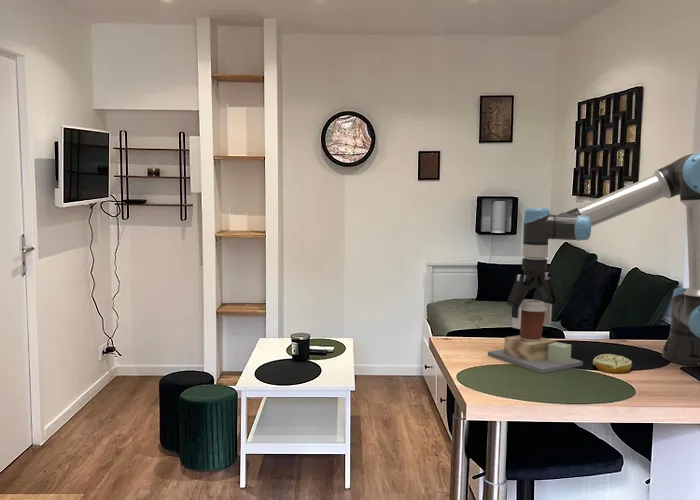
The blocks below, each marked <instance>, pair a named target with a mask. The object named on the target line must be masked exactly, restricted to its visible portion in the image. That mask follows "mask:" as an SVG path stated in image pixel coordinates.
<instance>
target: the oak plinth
mask: <svg viewBox="0 0 700 500" xmlns="http://www.w3.org/2000/svg"><path fill="white" fill-rule="evenodd" d="M554 342H557V340H555V339H554V340H553V339H550V338H546V337H542V336H541V341H538V342H530V341H524V340H521V339H520V334H518V335H512V336H511V335H510V336H505V337H504V343H503V344H504V345H503V346H504V348H503V349H504V353H506V354H509V355H512V356H515V357H518V358H521V359H524V360H528V361H536V360H542V359H547V358H548V345H549V344H551V343H554Z"/></svg>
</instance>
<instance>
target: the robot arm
mask: <svg viewBox="0 0 700 500" xmlns="http://www.w3.org/2000/svg"><path fill="white" fill-rule="evenodd" d="M676 196H679V200H680V202H681V203H682V204H683V205H684V206H685V208H686V231H687V232H686V233H687V258H688V259H687V262H688V288H686V287H684V288H683V287H677V288H674V289H673V293H672V297H671V300H672V302H671V316H670V328H669V335H668V337H667V339H666V341H665V344H664V346H663V348H662V353H661V357H662V358H663V359H664V360H666V361H668V362H672V363H675V364H680V365H685V366H695V367H700V152H699V153H698V152H697V153H690V154H686V155H683V156H682V157H680V158H678V159H676V160H675V161H672V162H671V163H669V164H668V165H665V166H663V167H661V168H659V169H657V170H655V171H654V173H653V174H652V175H651V176H648V177H646V178H644V179H641V180H638V181H636V182H634V183H631V184H629V185H627V186H625V187H622V188H620V189H617V190H615V191H612V192H611V193H608V194H605V195H603V196H601V197H599V198H596V199H593V200H591V201H590V202H587V203H584V204H582V205H579V206H577V207H575V208H572V209H570V210H568V211H565V212H561V213H559V214H551V209H550V208H548V207H528V208H526V209H525V211H524V217H523V218H524V219H523V237H522V241H523V242H522V244H523V245H522V257H523V258H522V259H521V270H522V271H523V274H520V273H519V274H518V273H517V274H516V275H515V278H514V279H515V280H514V283H513V286H512V288H511V291H510V293H509V296H508V298H507V301H506V305H507V306H509V307H511V319H512V322H511V324H512V325H511V328H513V329H517V330H520V329H521V308H520V307H519V306H520V305H521V303H522V301H523V300H525V298H526V296H528V293H529V292H530V291H531V290H532V289H538V291H539V293H540V294H541V296H542V297H543V299H544V301H545V302H544V305H545V307H547V311H545V316H544V323H543V324H546V325H551V324H552V314H553V308H554V307H553V305H555V304H557V301H559V297H558V293H557V290H556V287H555V283H554V280H553V273H552V272H549V271H548V259H547V258H548V257H549V240H560V241H561V240H563V241H564V240H565V241H577V242H578V241H588V240H589V239H590V238H591V234H592V233H591V232H592V227H594V226H596V225H597V226H598V225H599V224H601V223H604V222H607V221H609V220H611V219H614V218H616V217H618V216H622V215H624V214H626V213H629V212H631V211H633V210H636V209H638V208H641V207H643V206H645V205H647V204H650V203H653V202H656V201H658V200H660V199H662V198H666V199H671V198H673V197H676ZM698 363H699V364H698Z"/></svg>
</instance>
